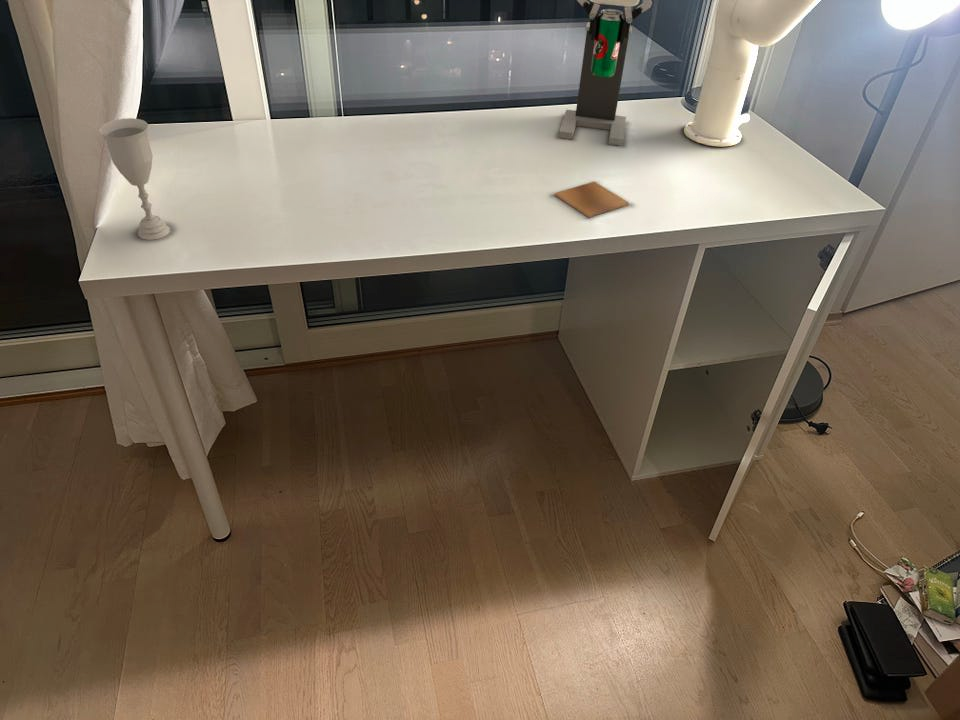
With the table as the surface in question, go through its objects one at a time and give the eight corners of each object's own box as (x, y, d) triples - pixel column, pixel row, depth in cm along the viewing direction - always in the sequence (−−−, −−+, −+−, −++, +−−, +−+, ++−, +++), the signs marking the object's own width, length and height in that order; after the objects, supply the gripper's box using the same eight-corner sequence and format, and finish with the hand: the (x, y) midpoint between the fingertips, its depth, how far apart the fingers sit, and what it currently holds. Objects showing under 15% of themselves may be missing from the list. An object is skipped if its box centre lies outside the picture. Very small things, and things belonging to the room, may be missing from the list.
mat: (593, 183, 139) (594, 181, 139) (628, 205, 133) (629, 202, 133) (554, 195, 135) (554, 192, 134) (588, 217, 129) (589, 215, 128)
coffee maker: (565, 115, 166) (577, 17, 152) (625, 122, 164) (642, 24, 150) (558, 137, 156) (570, 35, 142) (621, 145, 154) (640, 43, 140)
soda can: (613, 79, 144) (624, 16, 136) (589, 77, 144) (597, 13, 137) (615, 71, 147) (625, 9, 140) (591, 69, 148) (600, 7, 140)
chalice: (139, 221, 121) (108, 118, 109) (180, 221, 121) (153, 118, 110) (126, 243, 115) (92, 137, 104) (169, 243, 116) (140, 137, 104)
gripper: (670, -63, 131) (651, 40, 143) (579, -71, 134) (567, 30, 146) (669, -56, 126) (649, 50, 138) (574, -64, 128) (563, 41, 140)
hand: (607, 39), depth 141 cm, fingers closed on soda can, 5 cm apart
